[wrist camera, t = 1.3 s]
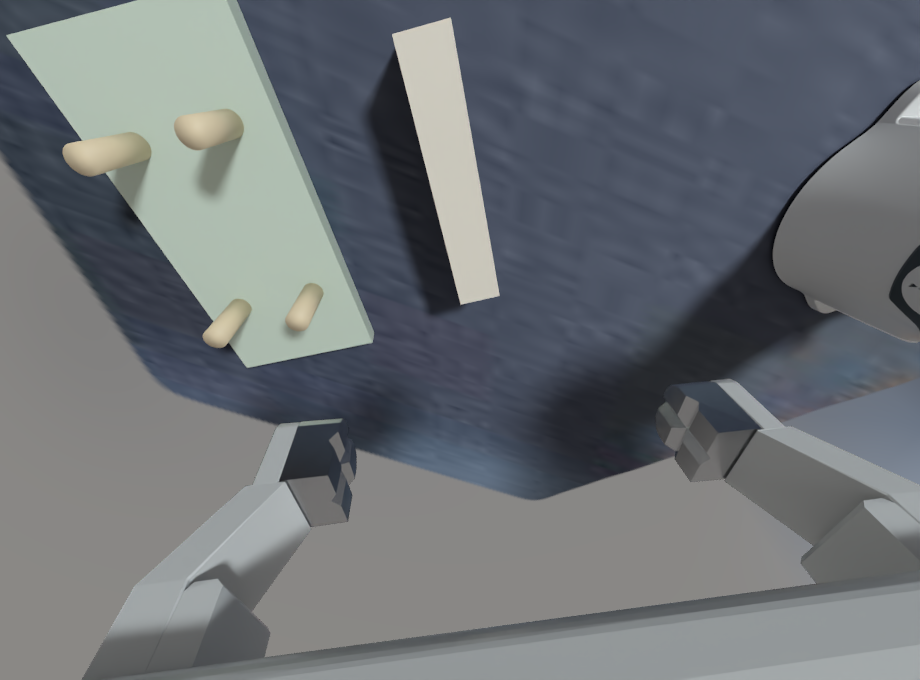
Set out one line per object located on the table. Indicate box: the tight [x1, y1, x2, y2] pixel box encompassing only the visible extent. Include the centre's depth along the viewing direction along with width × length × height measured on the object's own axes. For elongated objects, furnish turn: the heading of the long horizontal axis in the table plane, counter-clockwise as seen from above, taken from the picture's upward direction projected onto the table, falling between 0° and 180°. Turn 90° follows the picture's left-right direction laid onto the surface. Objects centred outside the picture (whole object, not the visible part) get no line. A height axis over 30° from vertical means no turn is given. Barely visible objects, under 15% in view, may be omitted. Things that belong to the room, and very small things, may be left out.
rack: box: [6, 0, 374, 368], centre depth 25 cm, size 24×12×6 cm, turn 11°
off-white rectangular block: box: [392, 18, 500, 304], centre depth 25 cm, size 16×3×5 cm, turn 12°
